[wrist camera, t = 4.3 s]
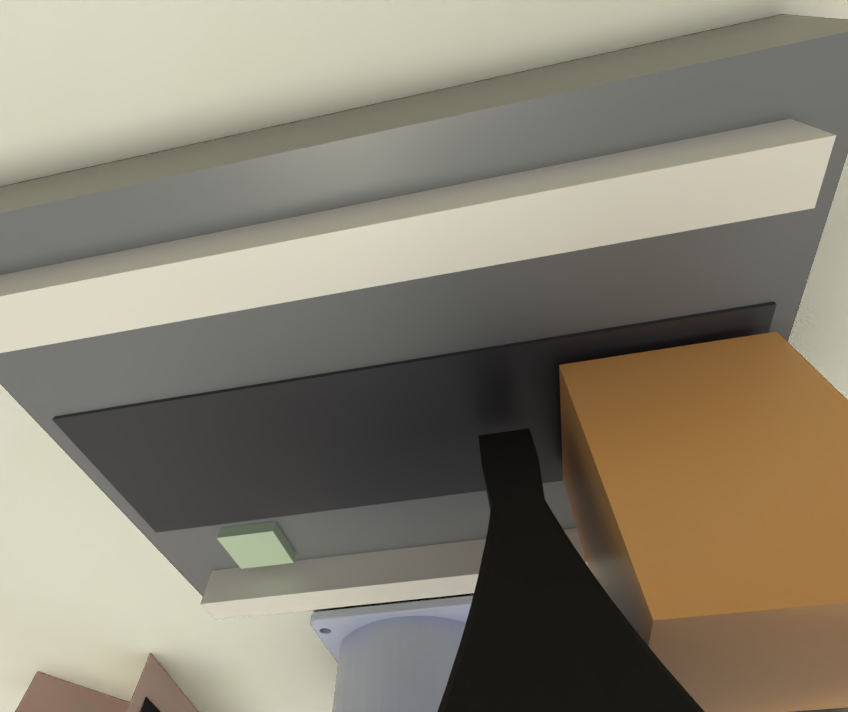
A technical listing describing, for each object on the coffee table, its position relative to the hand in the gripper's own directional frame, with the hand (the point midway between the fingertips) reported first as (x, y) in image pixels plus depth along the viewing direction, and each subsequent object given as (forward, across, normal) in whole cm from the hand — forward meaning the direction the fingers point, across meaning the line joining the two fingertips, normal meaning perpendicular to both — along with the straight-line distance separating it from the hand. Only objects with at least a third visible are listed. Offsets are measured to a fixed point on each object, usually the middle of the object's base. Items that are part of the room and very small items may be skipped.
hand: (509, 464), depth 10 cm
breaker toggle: (+1, -3, 0) cm, 3 cm away
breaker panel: (+4, +2, 0) cm, 4 cm away
